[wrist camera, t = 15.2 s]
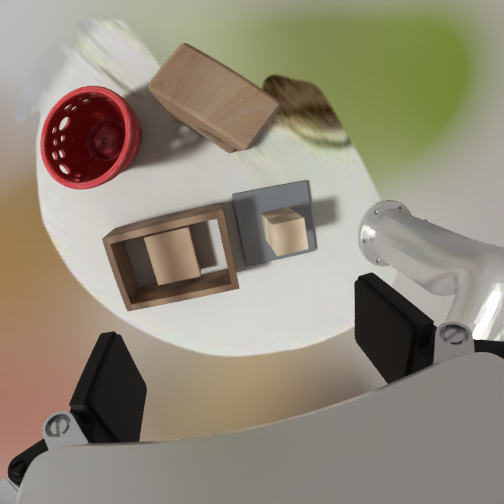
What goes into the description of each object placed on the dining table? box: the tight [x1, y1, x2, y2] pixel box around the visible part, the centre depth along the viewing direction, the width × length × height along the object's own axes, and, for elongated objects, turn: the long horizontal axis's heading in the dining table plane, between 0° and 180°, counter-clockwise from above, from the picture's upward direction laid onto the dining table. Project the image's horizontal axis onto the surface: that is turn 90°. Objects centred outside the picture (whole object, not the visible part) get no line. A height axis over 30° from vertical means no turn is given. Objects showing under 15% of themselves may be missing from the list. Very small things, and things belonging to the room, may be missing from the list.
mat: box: [232, 181, 315, 266], centre depth 47 cm, size 12×12×1 cm
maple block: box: [261, 208, 308, 256], centre depth 43 cm, size 4×4×8 cm
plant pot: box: [40, 86, 141, 189], centre depth 33 cm, size 13×13×12 cm
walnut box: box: [102, 203, 239, 311], centre depth 43 cm, size 18×12×6 cm, turn 100°
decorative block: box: [148, 43, 281, 153], centre depth 31 cm, size 11×6×20 cm, turn 54°
